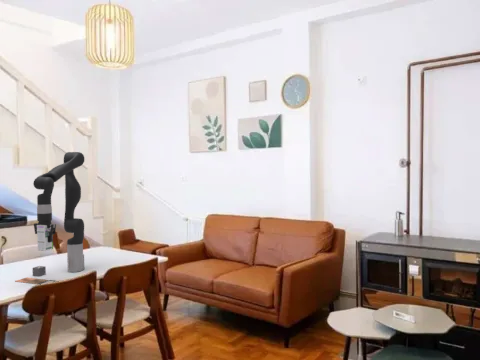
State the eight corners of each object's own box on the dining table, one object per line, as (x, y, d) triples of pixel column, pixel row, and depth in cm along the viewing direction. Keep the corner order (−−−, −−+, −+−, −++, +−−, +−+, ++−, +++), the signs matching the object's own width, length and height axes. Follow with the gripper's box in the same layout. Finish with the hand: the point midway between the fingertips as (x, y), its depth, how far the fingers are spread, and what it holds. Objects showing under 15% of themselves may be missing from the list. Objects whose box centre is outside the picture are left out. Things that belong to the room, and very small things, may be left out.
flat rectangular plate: (26, 277, 233) (26, 277, 233) (60, 281, 225) (60, 281, 225) (14, 281, 226) (14, 281, 226) (48, 285, 217) (48, 285, 217)
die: (39, 273, 242) (39, 265, 242) (45, 274, 241) (45, 266, 240) (32, 276, 238) (32, 267, 238) (38, 276, 236) (38, 268, 236)
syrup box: (45, 251, 219) (44, 225, 219) (37, 250, 221) (36, 224, 221) (53, 249, 224) (52, 224, 224) (45, 248, 226) (45, 223, 226)
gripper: (59, 212, 223) (60, 241, 224) (40, 211, 228) (40, 240, 229) (49, 213, 216) (50, 243, 217) (29, 212, 221) (29, 242, 221)
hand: (45, 241), depth 223 cm, fingers closed on syrup box, 6 cm apart
